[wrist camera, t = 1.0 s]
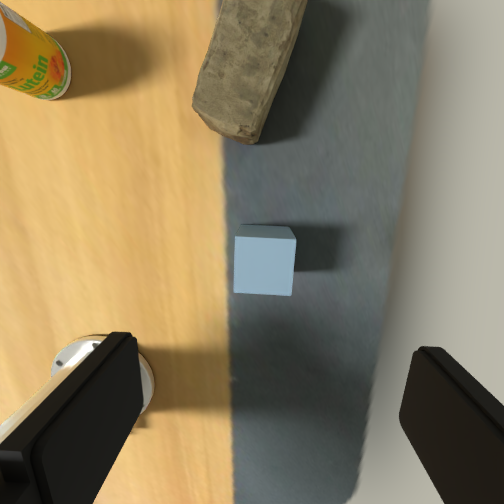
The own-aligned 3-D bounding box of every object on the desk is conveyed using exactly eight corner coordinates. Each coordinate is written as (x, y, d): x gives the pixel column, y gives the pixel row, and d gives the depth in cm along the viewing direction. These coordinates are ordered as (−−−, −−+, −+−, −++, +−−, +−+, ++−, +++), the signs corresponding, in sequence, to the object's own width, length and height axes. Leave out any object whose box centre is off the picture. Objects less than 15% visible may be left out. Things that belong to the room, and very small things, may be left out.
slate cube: (285, 271, 28) (291, 295, 22) (239, 269, 28) (233, 292, 22) (288, 226, 27) (296, 239, 21) (240, 224, 27) (235, 236, 21)
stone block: (306, 17, 22) (318, -29, 17) (256, 151, 25) (254, 145, 20) (243, -13, 21) (237, -68, 17) (200, 128, 25) (184, 115, 20)
